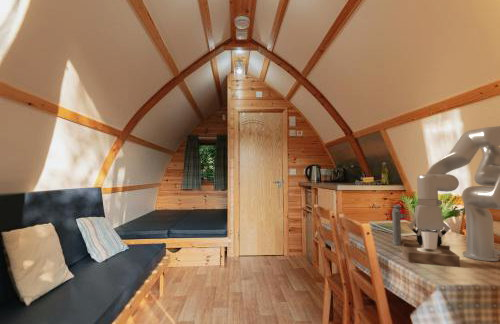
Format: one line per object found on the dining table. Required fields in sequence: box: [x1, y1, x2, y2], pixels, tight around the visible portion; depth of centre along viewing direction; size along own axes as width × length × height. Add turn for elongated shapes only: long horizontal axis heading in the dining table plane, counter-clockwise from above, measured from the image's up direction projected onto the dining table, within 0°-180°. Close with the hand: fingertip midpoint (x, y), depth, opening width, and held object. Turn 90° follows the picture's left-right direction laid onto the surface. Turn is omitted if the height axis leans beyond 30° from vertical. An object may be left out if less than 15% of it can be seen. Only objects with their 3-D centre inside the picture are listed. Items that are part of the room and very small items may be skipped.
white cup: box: [421, 230, 438, 249], centre depth 119 cm, size 7×7×7 cm
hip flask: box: [391, 205, 402, 246], centre depth 152 cm, size 16×4×20 cm, turn 152°
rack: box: [402, 241, 461, 268], centre depth 118 cm, size 18×12×6 cm, turn 71°
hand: (429, 244), depth 119 cm, fingers closed on white cup, 6 cm apart
